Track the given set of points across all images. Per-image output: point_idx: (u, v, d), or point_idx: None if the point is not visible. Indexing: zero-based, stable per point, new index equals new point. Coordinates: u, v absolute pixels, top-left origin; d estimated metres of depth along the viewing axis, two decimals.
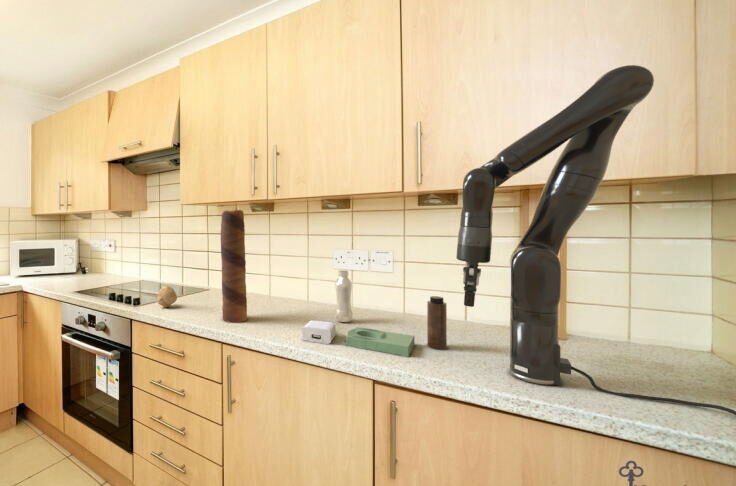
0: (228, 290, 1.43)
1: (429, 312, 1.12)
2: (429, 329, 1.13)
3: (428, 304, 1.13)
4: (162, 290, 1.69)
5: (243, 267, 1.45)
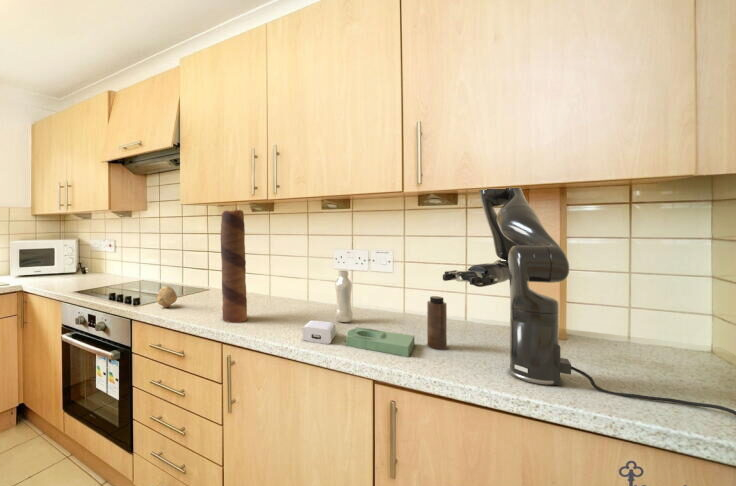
0: (228, 290, 1.43)
1: (429, 312, 1.12)
2: (429, 329, 1.13)
3: (428, 304, 1.13)
4: (162, 290, 1.69)
5: (243, 267, 1.45)
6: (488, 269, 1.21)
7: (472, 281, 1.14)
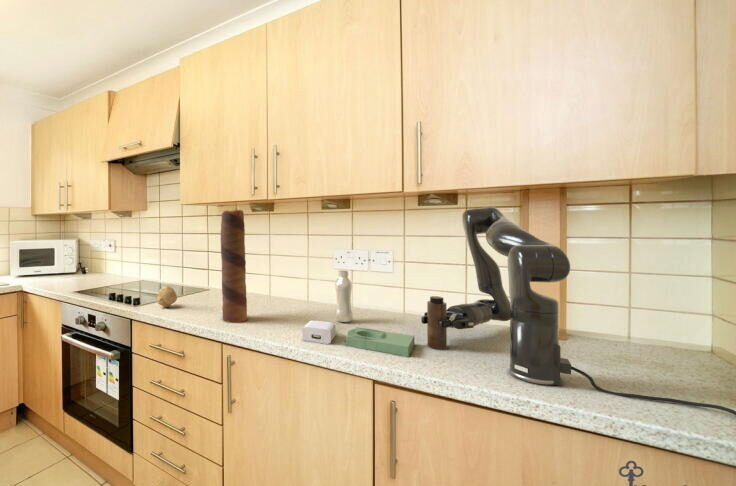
0: (228, 290, 1.43)
1: (429, 312, 1.12)
2: (429, 329, 1.13)
3: (428, 304, 1.13)
4: (162, 290, 1.69)
5: (243, 267, 1.45)
6: (467, 311, 1.15)
7: (442, 325, 1.09)
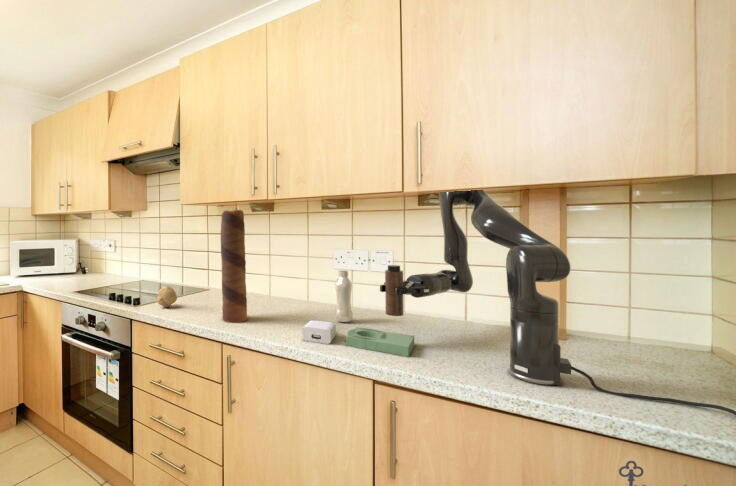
0: (228, 290, 1.43)
1: (386, 280, 1.15)
2: (386, 297, 1.15)
3: (385, 272, 1.16)
4: (162, 290, 1.69)
5: (243, 267, 1.45)
6: (424, 279, 1.18)
7: (397, 291, 1.12)
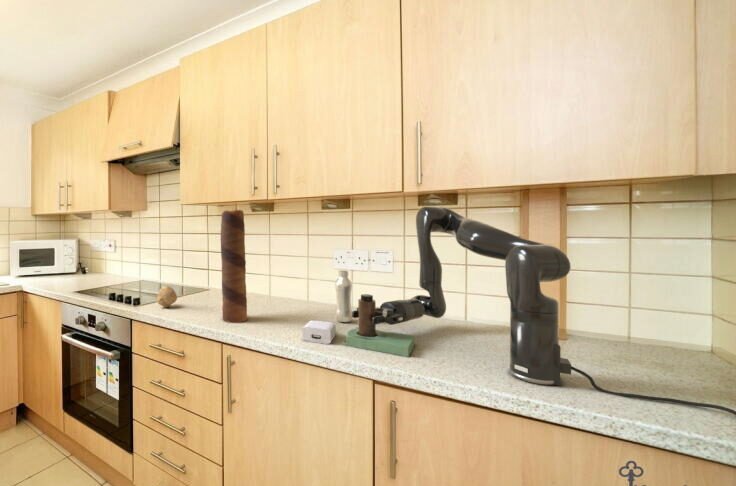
0: (228, 290, 1.43)
1: (359, 309, 1.17)
2: (359, 326, 1.17)
3: (358, 302, 1.18)
4: (162, 290, 1.69)
5: (243, 267, 1.45)
6: (397, 307, 1.19)
7: (374, 320, 1.13)
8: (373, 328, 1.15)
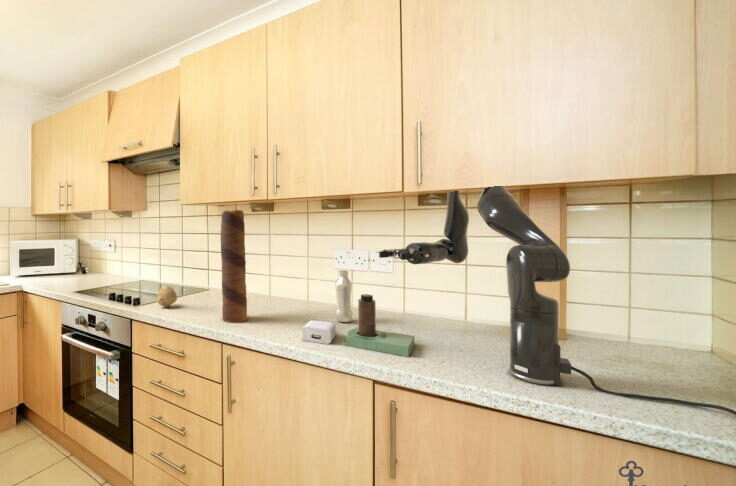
0: (228, 290, 1.43)
1: (359, 309, 1.17)
2: (359, 326, 1.17)
3: (358, 302, 1.18)
4: (162, 290, 1.69)
5: (243, 267, 1.45)
6: (422, 247, 1.25)
7: (402, 256, 1.18)
8: (373, 328, 1.15)
